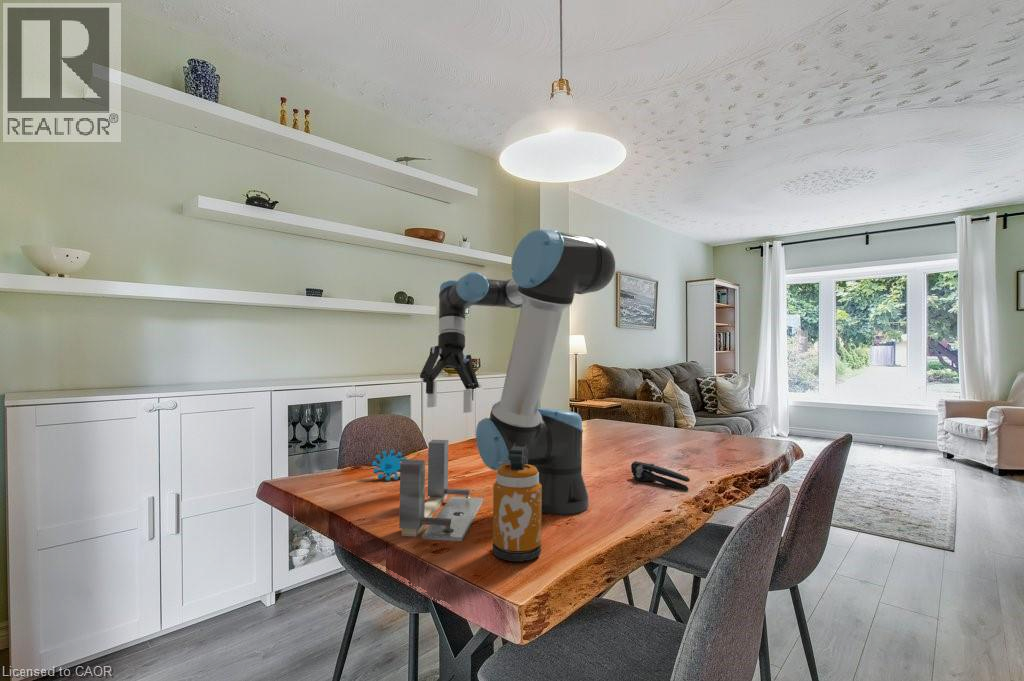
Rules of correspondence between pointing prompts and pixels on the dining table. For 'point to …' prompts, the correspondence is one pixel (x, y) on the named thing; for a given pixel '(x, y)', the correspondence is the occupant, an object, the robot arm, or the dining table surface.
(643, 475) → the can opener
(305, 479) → the dining table surface
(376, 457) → the blue spiky virus model
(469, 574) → the dining table surface
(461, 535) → the bolt plate
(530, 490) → the canister
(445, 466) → the slide leg
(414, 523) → the grey metal fixture
